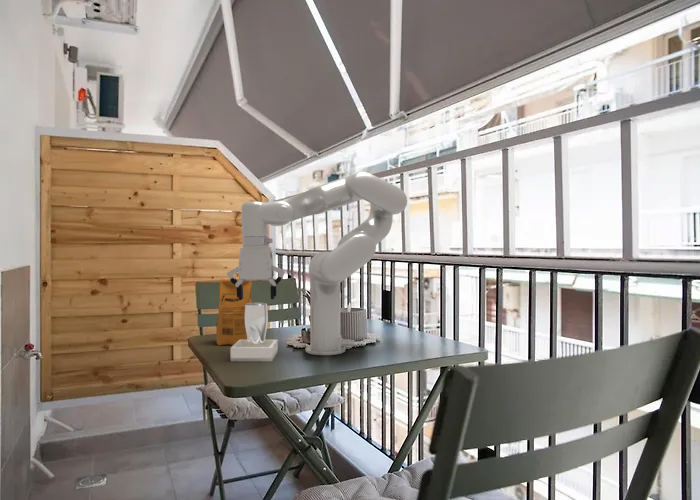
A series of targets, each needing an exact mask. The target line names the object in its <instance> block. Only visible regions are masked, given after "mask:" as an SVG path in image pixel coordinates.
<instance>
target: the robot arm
mask: <svg viewBox="0 0 700 500" xmlns="http://www.w3.org/2000/svg"><path fill="white" fill-rule="evenodd" d="M407 197H408V196H407V195H406V193H405V191H404V190H403V189H401V188H400V187H398V186H397V185H395V184H392V183H390V182H389V181H386V180H384V179H382V178H380V177H378V176H377V175H373V174H371V173H369V172H367V171H359V172H356V173H353V174H350V175H348V176H344V177H342V178H337V179H335V180H332V181H329V182H325V183H322V184H320V185H317V186H314V187H312V188H309V189H308V190H306V191H304V192H302V193H301V192H300V193H299V194H296V195H294V196H291V197H288V198H285V199H282V200H275V201H265V202H263V201H246V202H243V203H242V204H241V210H240V211H241V233H242V234H241V235H242V236H241V238H242V242H241V243H242V247H240V250H239V256H238V266H236V267H234V268H233V269H231V270H229V271H228V272H226V275H227V276H228V280H230V281H231V282H232V283H233V284H234V285H235V286H236V287H237V297H239V300H242V299H243V287H242V283H243V282H244V281H250V280H251V281H268V282H269V283H270V285H271V286H270V299H271V300H275V299H276V298H275V297H277V285H278V284H279V283H280V282H281V281H282V280H283V277H284V275H285V273H286V271H285V270H283V269H282V268H279V267H278V266H276V265H274V260H273V251H272V248H271V246H269V244H272V243H273V238H269V236H268V225H270V226H271V227H273V226H274V227H281V226H285V225H288V224H289V223H290V222H293V221H297V220H300V219H303V218H305V217H306V218H307V217H310V216H314V215H321V214H323V213H326V212H329V211H332V210H336V209H338V208H340V207H343V206H346V205H349V204H352V203H355V202H359V201H361V200H364V201H365V202H368V203H370V204H369V205H370V206H369V207H370V211H369V215H368V217H367V218H366V219H365V220H364V221H363V222H362V223H360V224H359V225H358V226H357V227H355V228H353V229H352V230H351V231H349V232H347V233H345V234H344V235H343V236H342V237H341V238H340V239H339V241H338V242H337V246H336V247H334V248H333V249H332V250H331V251H320V252H317V253H316V254H314V255H313V256H312V258H311V259H310V261H309V265H308V276H309V279H308V280H309V289H310V290H309V291H310V306H309V307H310V310H309V311H310V313H309V314H310V320H309V321H310V324H309V325H310V326H309V327H310V336H309V337H310V345H307V346H306V347H305V353H306V354H308V355H309V354H310V355H313V356H314V355H315V356H335V355H341V354H343V353H345V352H346V347H355V345H356V344H355V339H351V338H350V339H349V338H348V339H345V338H343V337H342V334H341V302H342V301H341V299H342V298H341V285H340V283H342V282H343V281H345V280H347V279H348V278H349V277H351V276H353V274H355V273H356V272H357V271H358V270H360V269H361V268H362V267H364V266H365V265H366V264H368V263H369V262H370V261H371V260H372V258H373V257H374V256H375V253H376V250H377V245H378V244H380V242H382V241H383V240H384V239H386V237H387V236H388V235H389V233H390V231H391V229H392V225H393V219H394V217H393V215H398V214H400V213H402V212H403V211H405V209H406V207H407V204H408V198H407ZM237 272H238V279H236V278H235V276H234V275H235V274H236V273H237ZM274 272H276V273H278V277H276V279H275V278H274V277H275V276H274V275H275V273H274ZM237 280H238V281H237Z"/></svg>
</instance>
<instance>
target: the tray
mask: <svg viewBox="0 0 700 500" xmlns="http://www.w3.org/2000/svg"><path fill="white" fill-rule="evenodd" d="M278 341H279V340H278V339H265V346H266V347H247V340H239V341H237V342H236V343H235V344H234V345H232V346H231V347H230V362H273V360H274V359H275V358H276V356H277V354H278V352H279V351H278V348H279V347H278V346H279V344H278V343H279V342H278Z"/></svg>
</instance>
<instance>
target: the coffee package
mask: <svg viewBox="0 0 700 500" xmlns="http://www.w3.org/2000/svg"><path fill="white" fill-rule="evenodd" d="M236 280H237V281H238V280H239V279H236ZM252 285H253V283H252V280H250V281H244V282H243V283H242V287H243V299H242V300H239V297H237V287H236V286H235V285H234V284H233V283H232V282H231V281H230V279H222V278H221V279H220V282H219V297H218V298H219V300H218V315H217V319H216V325H215V329H216V344H217V346H222V345H223V346H225V345H230V346H231V345H232V346H233V345H234V344H235V343H236V342H237V341H239V340H247V334H246V329H245V320H244V316H245V304H247V303H252V298H251V297H252V296H251V295H252Z"/></svg>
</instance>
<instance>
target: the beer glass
mask: <svg viewBox="0 0 700 500" xmlns="http://www.w3.org/2000/svg"><path fill="white" fill-rule="evenodd" d="M244 320H245V329H246V334H247V347H266V346H265V340H266V336H267V335H266V334H267V330H268V323H269V321H268V320H269V312H268V303H266V302H251V303H247V304H245V316H244Z"/></svg>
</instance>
